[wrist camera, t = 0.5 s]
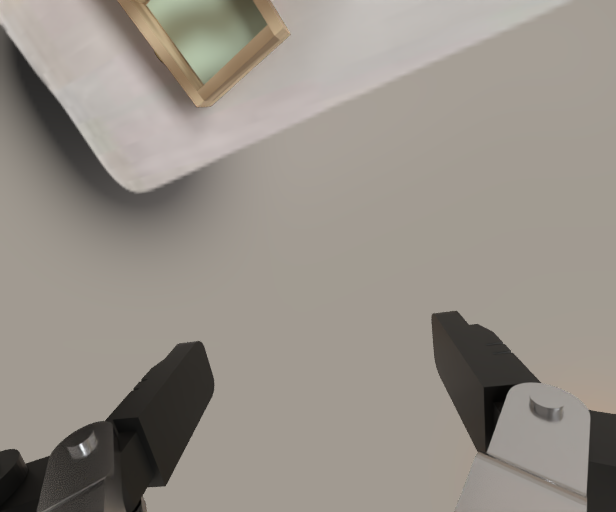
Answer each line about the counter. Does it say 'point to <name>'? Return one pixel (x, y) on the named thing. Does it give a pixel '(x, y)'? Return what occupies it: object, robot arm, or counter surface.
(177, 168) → the counter surface
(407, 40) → the counter surface
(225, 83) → the tray
